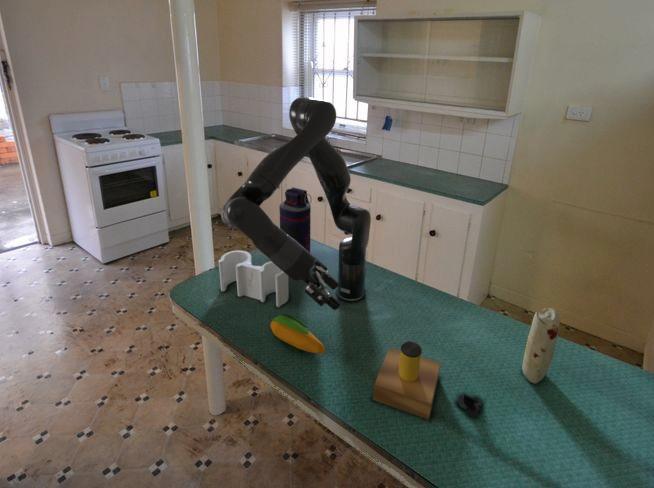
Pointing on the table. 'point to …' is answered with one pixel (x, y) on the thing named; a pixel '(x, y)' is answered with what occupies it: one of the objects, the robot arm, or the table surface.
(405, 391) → the wood block
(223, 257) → the bracket
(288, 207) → the navy water bottle
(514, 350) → the table surface
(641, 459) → the table surface
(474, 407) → the block figure
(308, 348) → the corn
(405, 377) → the tin
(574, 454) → the table surface
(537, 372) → the food model
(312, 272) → the robot arm
